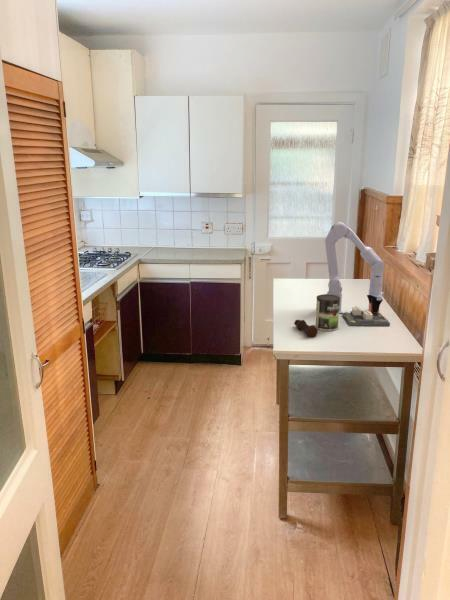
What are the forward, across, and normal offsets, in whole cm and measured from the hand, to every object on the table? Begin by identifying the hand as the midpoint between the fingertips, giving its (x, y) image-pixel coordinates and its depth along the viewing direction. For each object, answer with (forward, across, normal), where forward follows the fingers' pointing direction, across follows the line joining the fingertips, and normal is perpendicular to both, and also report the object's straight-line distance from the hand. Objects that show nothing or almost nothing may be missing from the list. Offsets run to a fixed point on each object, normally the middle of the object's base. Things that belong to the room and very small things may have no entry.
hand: (373, 310), depth 236 cm
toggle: (0, -8, +10) cm, 13 cm away
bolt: (+2, -27, +38) cm, 47 cm away
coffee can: (+2, -21, +27) cm, 34 cm away
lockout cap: (+1, 0, 0) cm, 1 cm away
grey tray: (+1, -12, +7) cm, 14 cm away
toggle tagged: (0, -14, +7) cm, 16 cm away
